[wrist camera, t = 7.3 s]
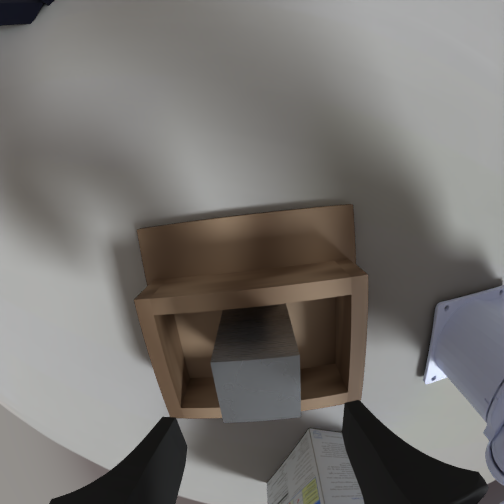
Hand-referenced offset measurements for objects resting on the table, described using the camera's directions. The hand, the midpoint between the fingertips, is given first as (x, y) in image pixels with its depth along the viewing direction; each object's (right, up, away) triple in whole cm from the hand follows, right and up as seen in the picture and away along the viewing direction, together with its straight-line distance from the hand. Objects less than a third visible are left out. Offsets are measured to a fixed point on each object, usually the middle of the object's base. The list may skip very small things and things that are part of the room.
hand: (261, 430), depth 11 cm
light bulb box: (+6, -14, +13) cm, 20 cm away
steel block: (0, +2, +9) cm, 9 cm away
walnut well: (0, +2, +10) cm, 10 cm away
